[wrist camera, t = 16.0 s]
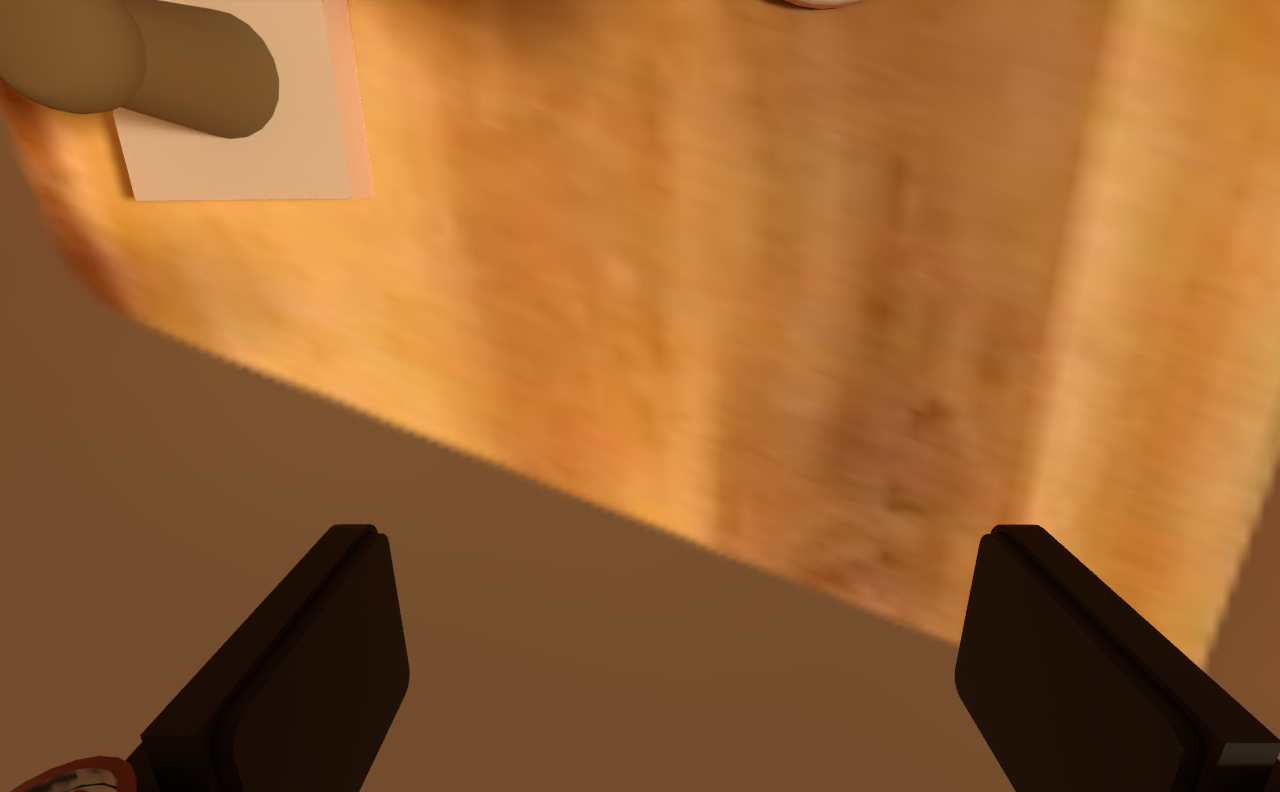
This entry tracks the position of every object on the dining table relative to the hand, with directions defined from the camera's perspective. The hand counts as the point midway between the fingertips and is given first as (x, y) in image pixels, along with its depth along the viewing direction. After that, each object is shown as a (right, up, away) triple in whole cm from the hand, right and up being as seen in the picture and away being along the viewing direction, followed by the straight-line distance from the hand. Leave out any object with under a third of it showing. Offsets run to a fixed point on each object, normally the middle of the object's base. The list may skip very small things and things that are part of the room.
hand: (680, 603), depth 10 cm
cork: (-22, +20, +23) cm, 37 cm away
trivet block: (-22, +21, +25) cm, 40 cm away
